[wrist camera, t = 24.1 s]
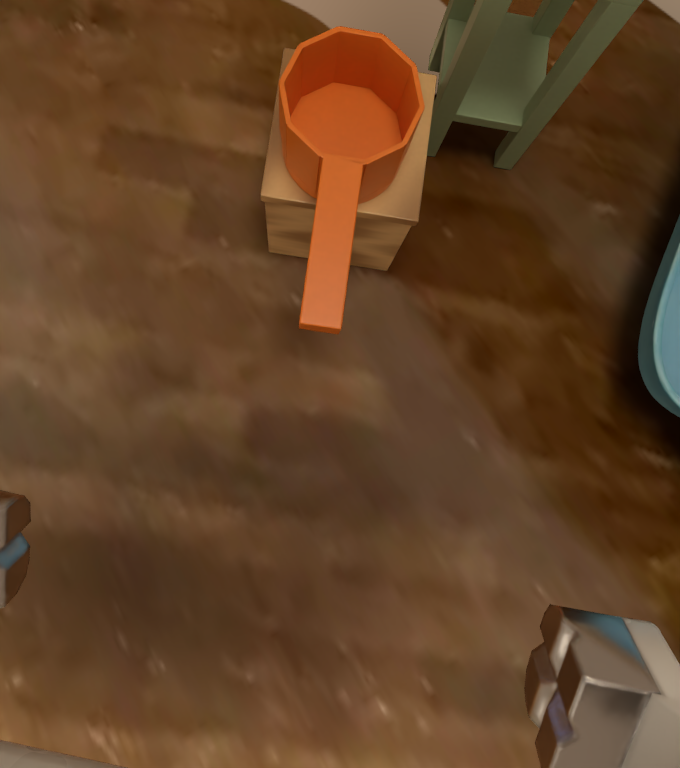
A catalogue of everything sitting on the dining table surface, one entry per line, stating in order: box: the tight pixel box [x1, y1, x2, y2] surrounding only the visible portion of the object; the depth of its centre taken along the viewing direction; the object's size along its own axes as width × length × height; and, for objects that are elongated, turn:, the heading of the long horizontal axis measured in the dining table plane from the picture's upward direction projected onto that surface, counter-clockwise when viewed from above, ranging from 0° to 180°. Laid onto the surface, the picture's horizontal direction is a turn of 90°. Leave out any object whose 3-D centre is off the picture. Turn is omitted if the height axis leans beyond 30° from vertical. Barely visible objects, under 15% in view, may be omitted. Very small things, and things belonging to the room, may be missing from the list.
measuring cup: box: [279, 26, 425, 334], centre depth 37 cm, size 17×8×6 cm, turn 172°
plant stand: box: [427, 0, 643, 170], centre depth 43 cm, size 8×9×21 cm
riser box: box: [260, 48, 437, 271], centre depth 46 cm, size 10×10×12 cm
